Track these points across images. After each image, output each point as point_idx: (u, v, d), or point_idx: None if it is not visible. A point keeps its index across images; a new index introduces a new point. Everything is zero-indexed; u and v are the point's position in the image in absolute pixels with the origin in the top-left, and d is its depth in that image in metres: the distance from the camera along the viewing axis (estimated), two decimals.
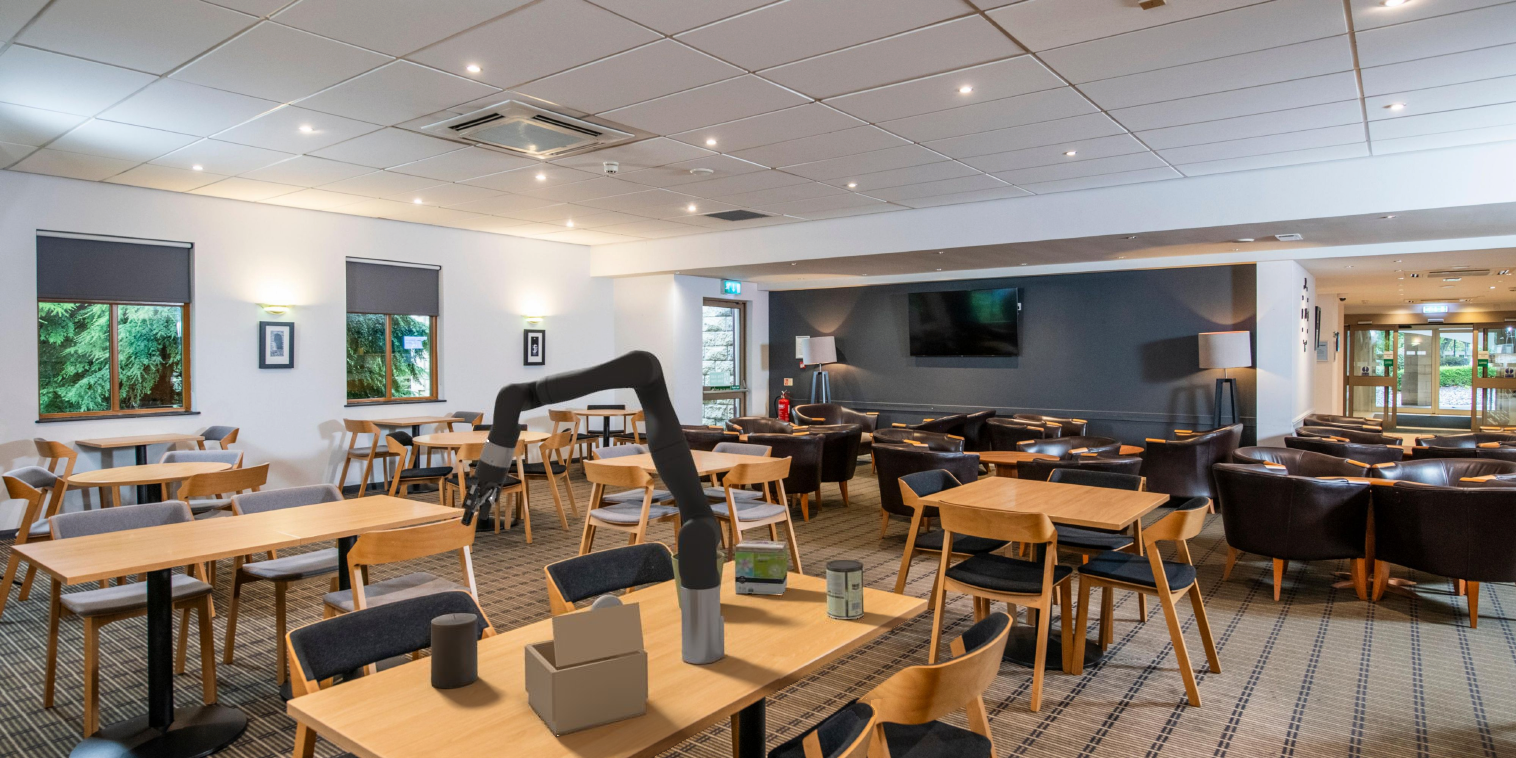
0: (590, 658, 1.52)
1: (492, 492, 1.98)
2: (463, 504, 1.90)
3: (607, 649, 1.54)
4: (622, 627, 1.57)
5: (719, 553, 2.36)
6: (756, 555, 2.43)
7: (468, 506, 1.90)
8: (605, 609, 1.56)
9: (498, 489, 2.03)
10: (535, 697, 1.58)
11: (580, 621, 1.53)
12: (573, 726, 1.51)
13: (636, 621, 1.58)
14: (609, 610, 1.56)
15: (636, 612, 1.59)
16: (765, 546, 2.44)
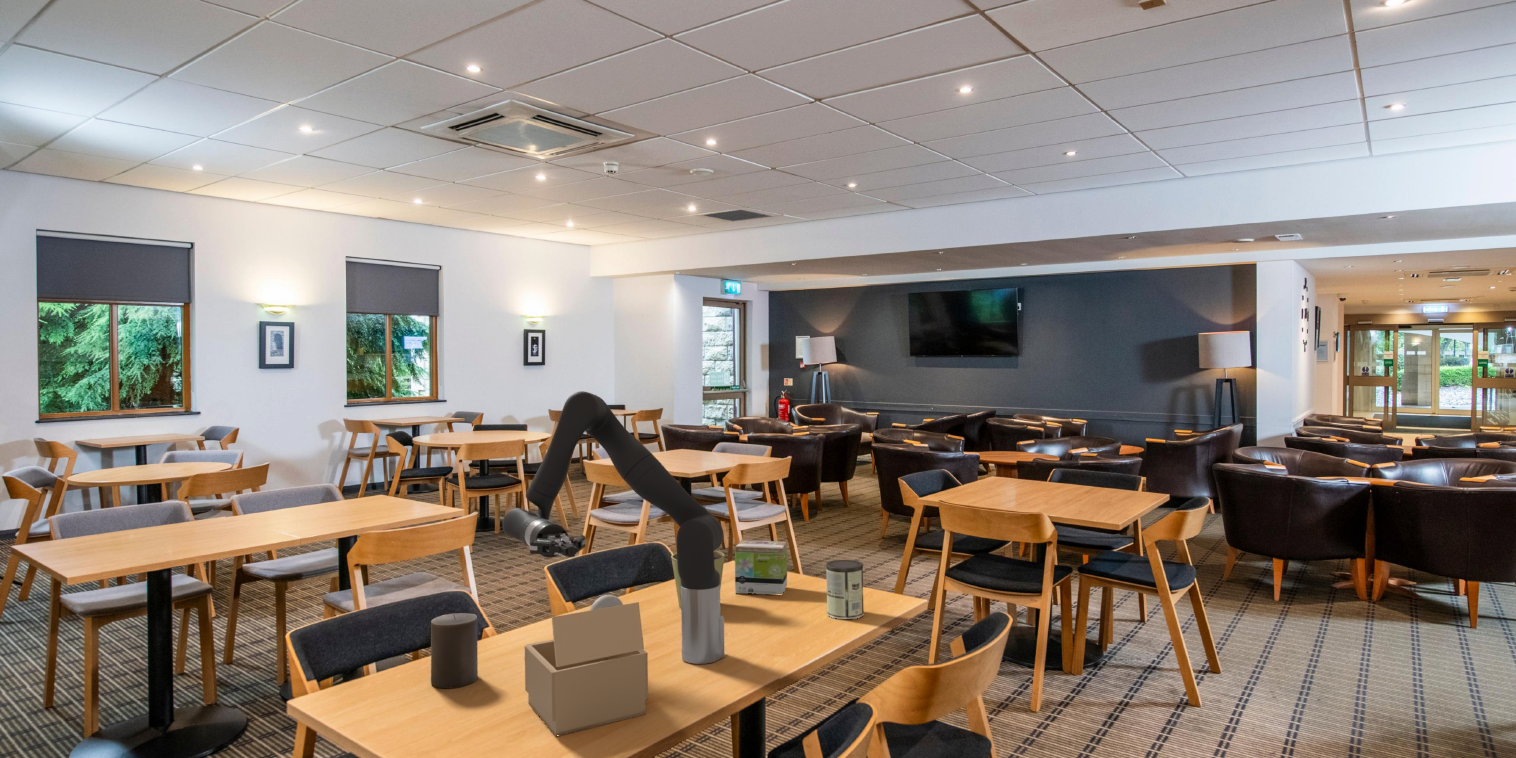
0: (590, 658, 1.52)
1: (559, 536, 1.76)
2: (548, 553, 1.70)
3: (607, 649, 1.54)
4: (622, 627, 1.57)
5: (719, 553, 2.36)
6: (755, 555, 2.43)
7: None
8: (605, 609, 1.56)
9: None
10: (535, 697, 1.58)
11: (580, 621, 1.53)
12: (573, 726, 1.51)
13: (636, 621, 1.58)
14: (609, 610, 1.56)
15: (636, 612, 1.59)
16: (765, 546, 2.44)
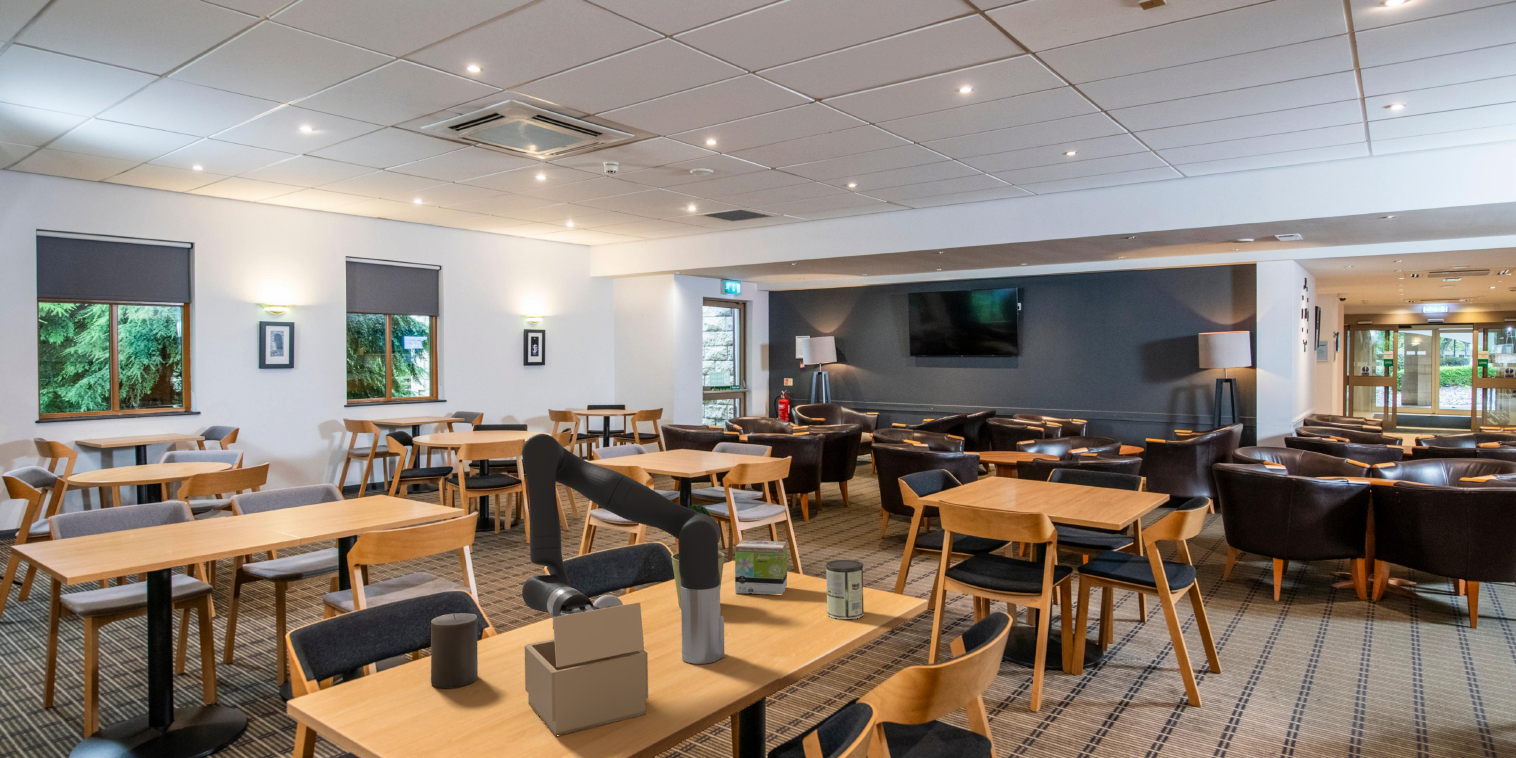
0: (590, 658, 1.52)
1: (584, 608, 1.63)
2: None
3: (608, 649, 1.54)
4: (623, 627, 1.56)
5: (719, 553, 2.36)
6: (756, 555, 2.43)
7: None
8: (606, 609, 1.55)
9: None
10: (535, 697, 1.58)
11: (581, 621, 1.52)
12: (573, 726, 1.51)
13: (637, 621, 1.58)
14: (611, 611, 1.56)
15: (637, 612, 1.58)
16: (765, 546, 2.44)
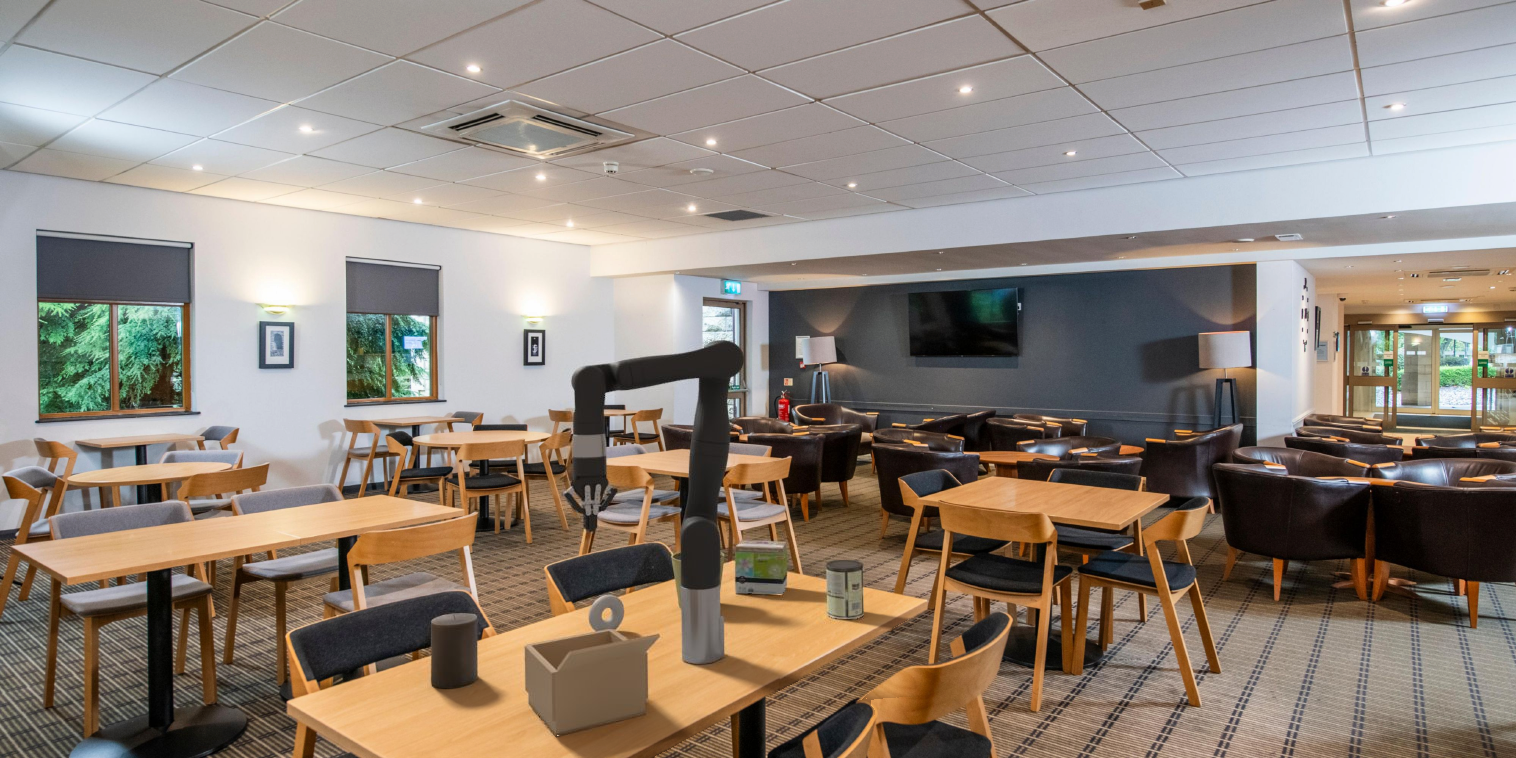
0: (591, 664, 1.52)
1: (595, 489, 1.80)
2: None
3: (610, 658, 1.53)
4: (633, 648, 1.52)
5: None
6: (756, 555, 2.43)
7: None
8: (624, 644, 1.48)
9: (608, 495, 1.82)
10: (535, 697, 1.58)
11: (595, 652, 1.46)
12: (573, 726, 1.51)
13: (649, 644, 1.53)
14: (628, 644, 1.49)
15: (653, 640, 1.52)
16: (765, 546, 2.44)
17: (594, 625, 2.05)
